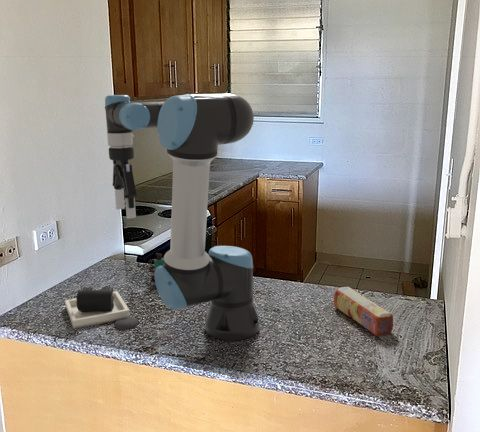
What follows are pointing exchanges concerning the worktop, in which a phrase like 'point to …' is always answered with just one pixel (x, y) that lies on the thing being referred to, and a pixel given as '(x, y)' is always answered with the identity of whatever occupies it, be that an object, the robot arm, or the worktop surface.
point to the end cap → (95, 299)
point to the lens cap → (126, 323)
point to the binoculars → (156, 264)
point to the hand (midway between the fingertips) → (125, 213)
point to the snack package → (363, 311)
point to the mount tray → (96, 313)
